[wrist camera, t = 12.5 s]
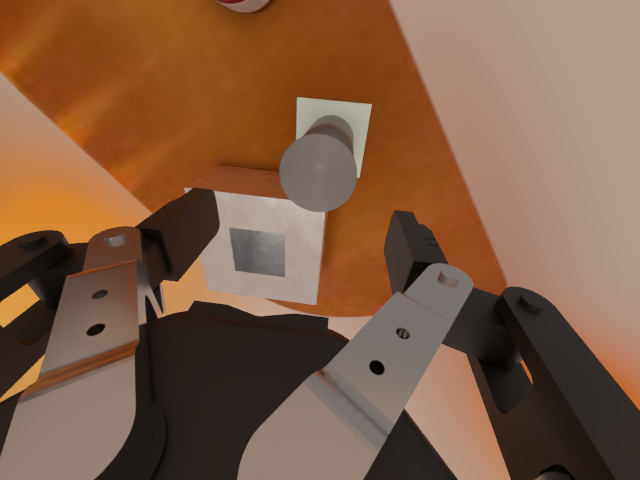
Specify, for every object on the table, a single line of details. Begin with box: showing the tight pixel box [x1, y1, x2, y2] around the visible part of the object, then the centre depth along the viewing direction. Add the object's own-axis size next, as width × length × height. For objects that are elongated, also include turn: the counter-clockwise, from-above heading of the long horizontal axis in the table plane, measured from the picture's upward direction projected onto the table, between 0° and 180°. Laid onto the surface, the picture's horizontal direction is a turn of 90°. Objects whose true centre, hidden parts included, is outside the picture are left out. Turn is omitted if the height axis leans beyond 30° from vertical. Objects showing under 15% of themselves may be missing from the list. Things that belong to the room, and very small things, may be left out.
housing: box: [184, 165, 328, 305], centre depth 29 cm, size 13×13×7 cm
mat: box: [296, 97, 372, 178], centre depth 25 cm, size 7×7×1 cm
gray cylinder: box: [279, 115, 357, 212], centre depth 20 cm, size 5×5×11 cm
